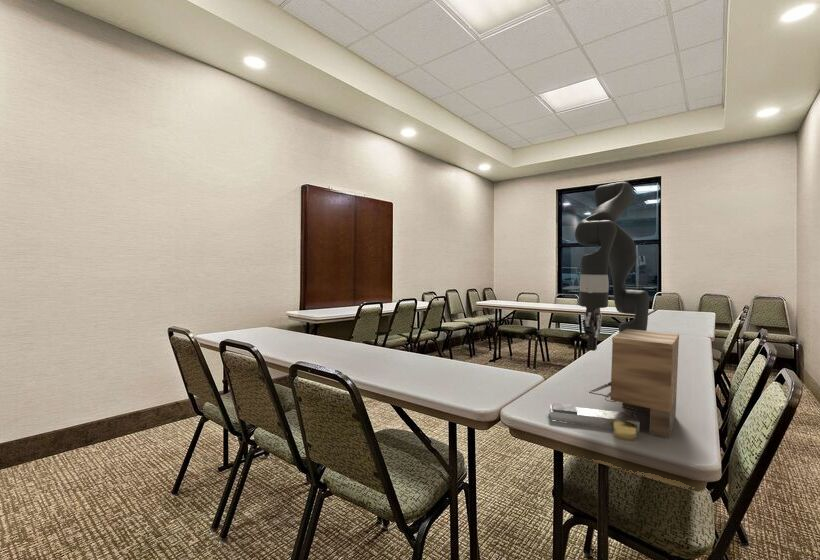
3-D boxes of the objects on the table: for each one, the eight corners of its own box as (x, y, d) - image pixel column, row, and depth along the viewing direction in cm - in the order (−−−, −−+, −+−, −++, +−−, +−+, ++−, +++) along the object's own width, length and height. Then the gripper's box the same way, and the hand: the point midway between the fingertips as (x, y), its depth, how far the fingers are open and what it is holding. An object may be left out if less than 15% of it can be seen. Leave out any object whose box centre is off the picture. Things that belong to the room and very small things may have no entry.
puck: (614, 430, 98) (615, 419, 98) (637, 435, 95) (637, 423, 95) (612, 437, 94) (612, 425, 94) (635, 443, 91) (636, 430, 91)
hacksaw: (615, 381, 141) (615, 377, 141) (646, 389, 133) (646, 385, 133) (582, 394, 126) (582, 390, 126) (614, 403, 118) (614, 399, 118)
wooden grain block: (623, 405, 116) (626, 328, 115) (675, 416, 108) (679, 334, 107) (609, 424, 101) (612, 337, 100) (668, 439, 93) (672, 344, 92)
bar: (549, 414, 109) (549, 402, 109) (632, 424, 103) (633, 411, 102) (550, 422, 103) (551, 409, 103) (639, 433, 97) (639, 419, 97)
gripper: (586, 288, 118) (584, 344, 119) (573, 290, 108) (571, 351, 108) (613, 289, 113) (611, 348, 114) (602, 292, 103) (600, 356, 104)
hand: (591, 349), depth 111 cm, fingers closed
